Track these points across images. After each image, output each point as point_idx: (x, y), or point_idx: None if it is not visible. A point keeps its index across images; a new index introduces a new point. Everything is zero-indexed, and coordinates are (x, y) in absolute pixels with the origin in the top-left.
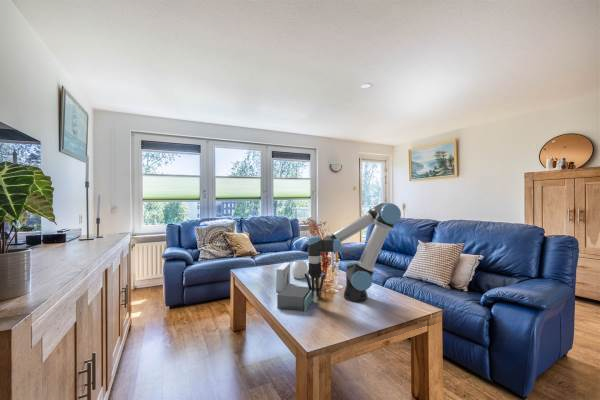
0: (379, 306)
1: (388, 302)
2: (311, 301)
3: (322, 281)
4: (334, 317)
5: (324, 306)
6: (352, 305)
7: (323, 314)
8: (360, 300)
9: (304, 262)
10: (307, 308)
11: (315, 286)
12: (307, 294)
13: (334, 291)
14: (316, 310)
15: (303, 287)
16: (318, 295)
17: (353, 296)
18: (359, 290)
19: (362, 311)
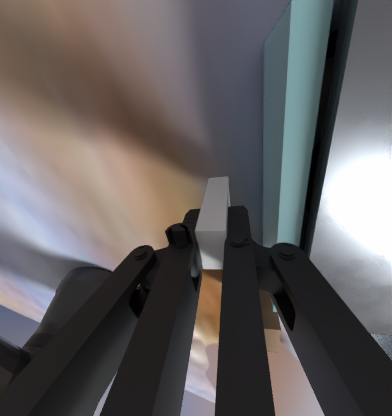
0: (4, 250)
1: (12, 279)
2: (263, 219)
3: (9, 394)
4: (31, 43)
5: (172, 191)
6: (73, 237)
7: (116, 59)
8: (68, 274)
9: None
10: (264, 94)
11: (267, 342)
12: (302, 199)
13: (198, 328)
14: (191, 111)
15: (374, 322)
16: (186, 218)
17: (78, 286)
18: (46, 316)
19: (4, 194)
